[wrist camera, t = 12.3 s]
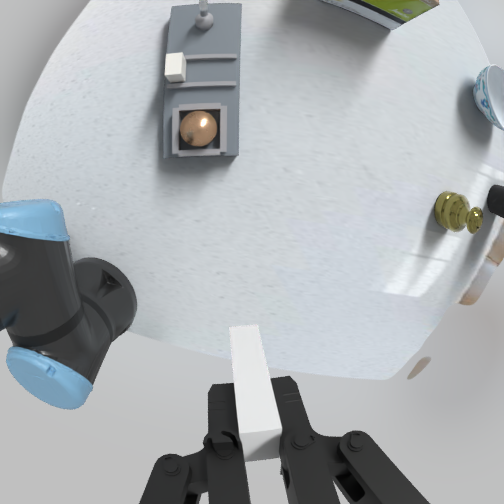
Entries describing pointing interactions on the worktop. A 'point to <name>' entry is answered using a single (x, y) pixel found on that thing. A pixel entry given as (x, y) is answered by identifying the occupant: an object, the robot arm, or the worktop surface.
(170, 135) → the control panel
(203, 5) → the toggle lever
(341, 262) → the worktop surface
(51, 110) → the worktop surface
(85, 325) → the robot arm
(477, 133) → the worktop surface
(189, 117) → the push button
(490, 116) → the chinaware
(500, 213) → the travel mug
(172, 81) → the white slider block
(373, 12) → the tea box
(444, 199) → the gold chess piece
